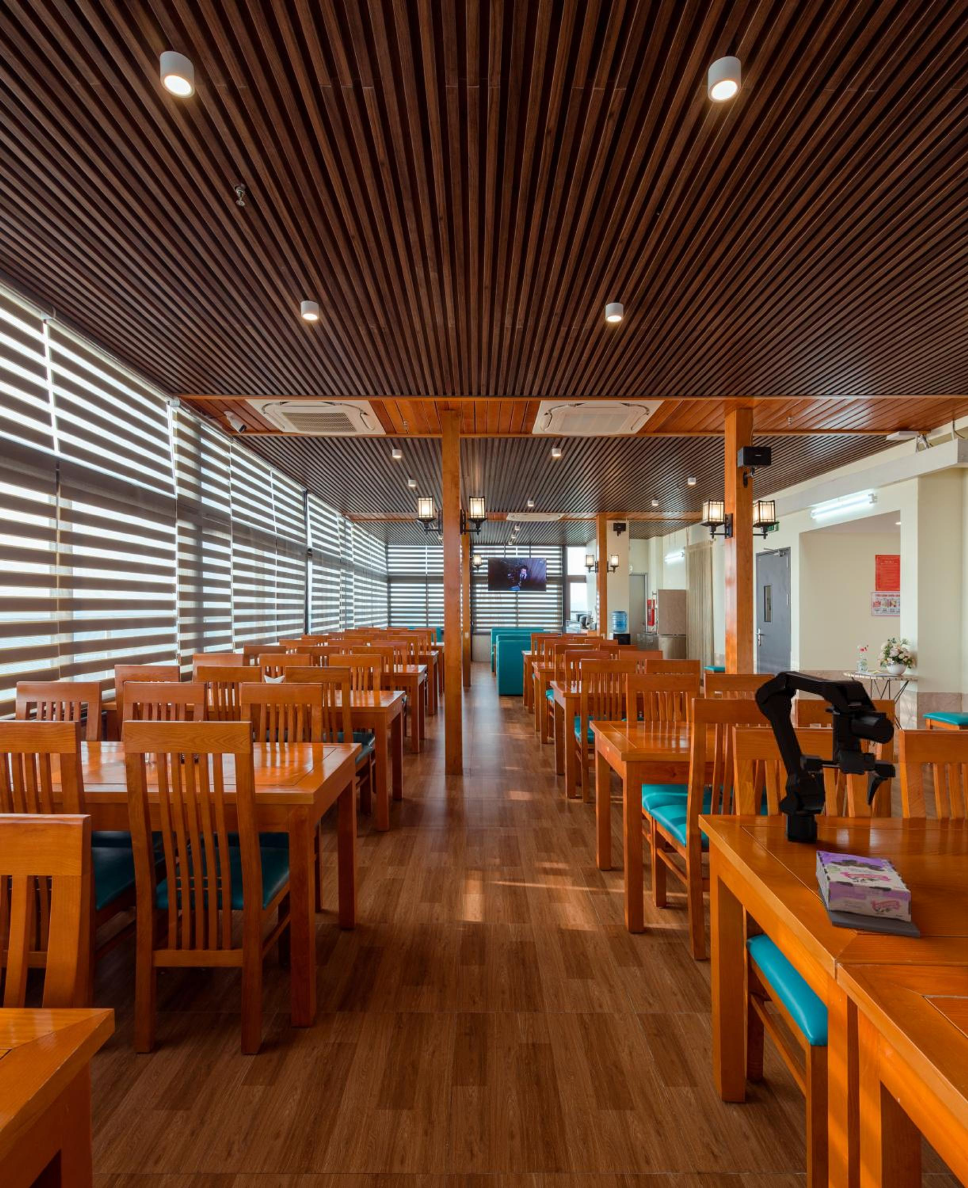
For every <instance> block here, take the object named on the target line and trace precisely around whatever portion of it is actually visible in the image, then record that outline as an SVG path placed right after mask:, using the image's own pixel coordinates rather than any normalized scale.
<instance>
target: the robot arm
mask: <svg viewBox="0 0 968 1188" xmlns="http://www.w3.org/2000/svg"><path fill="white" fill-rule="evenodd" d="M797 691H801V692H806V693H810V694H813V695H817V696H819V697H822V699H823V700H824V701H825V702H827V703H830V706H829V707H827V708H825V713H828V714H832V751H831V753H832V755H831V756H832V758H831V759H823V758H821V756H820V755H819V754H807V753H805V754H804V753H803V752H802V749H801V747H800V746H801V745H800V743H799V740H798V738H797V735H796V730H795V728H794V726H793V723H792V720H791V713H792V709H793V703H792V699H793V698H794V697H795V696H796V695H797ZM754 700H755V703H756V705H757V707H758V709H759V712H760V713H761V714H762V715H763V716H764V718H766V719H767V720H768V721H769V722H770V726H771V729H772V732H773V735H774V738H775V740H776V745H777V747H778V750H779V753H780V756H781V759H782V762H783V766H784V768H785V772H786V775H787V777H786V782H785V786H784V789H785V793H786V795H785V796H784V797H783V798H782V799H781V800H780V801H779V802H778V807H779V812H780V813H782V814H784V815H785V830H784V834H785V837H786V839H787V841H792V842H801V843H810V844H811V843H812V844H817V839H818V821H817V820H816V815H818V816H820V815H822V812H823V808H824V805H825V804H826V802H827V799H826V794H827V791H826V788H825V787H826V786H825V779H824V778H825V774H824V772H823V771H822V770H823V769H836V770H839V771H840V772H841V773H842V774H844V775H857V776H864V775H865V774H866V772H867V773H868V774H867V786H866V788H867V789H866V790H867V791H866V804H867V806H870V807H871V805H872V802H873V799H874V797H875V795H876V792H877V790H878V789H879V787H880V786H881V784H882V783H883V782H888V781H889V779H890V778H893V779H894V778H896V770H897V769H896V767H895V765H893V763H891V762H890V761H889V760H887V759H878V758H877V759H876V755H875V753H874V752H866V751H865V752H863V749H862V742H861V741H862V740H865V741H868V742H873V743H877V744H880V745H881V744H882V745H886V744H888V743H890V742H891V741H892V739H893V738H894V735H895V727H894V726H893V722H892V721H891V720H890V719H889V718H887V717H888V716H887V712H885V711H877V708H876V706H875V704H874V703H873V701H872V699H871V697H870V696H869V694H868V692H867V690H866V688H865V686H864V684H863V683H862V682H861V681H859V680H858V679H857V680H853V679H852V680H850V679H849V680H848V679H847V680H846V679H845V680H844V679H843V680H842V679H841V680H838V679H836V680H835V679H834V680H832V679H828V678H823V677H819V676H815V675H810V674H807V673H801V672H798V671H797V670H783V671H780V672H778V673H777V674H776V675H775V677H773V678H771V679H770V680H768V681H766V682H765V683H763V684H762V685H761V686H760V687H758V689H756V692H755V694H754Z"/></svg>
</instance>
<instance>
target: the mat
mask: <svg viewBox="0 0 968 1188" xmlns="http://www.w3.org/2000/svg"><path fill="white" fill-rule="evenodd" d="M817 889H818V891H817V892H818V894H819V897H820V899H821V901H822V903H823V906H824V909H825V912H826V914H827V913H828V914H827V916H828V918H830V919H829V921H830V923H831V925H832V926H835V927H844V928H850V929H855V928H860V929H859V930H863V929H864V930H863V931H869V932H870V931H871V932H878V933H884V934H885V933H886V934H891V933H893V935H898V934H899V936H906V937H913V938H921V932H920V931H919V929H918V927H917V926H916V925H915V923H914V922H913V920H912V919H911V922H908V921H903V920H897V919H890V918H882V917H876V916H869V915H863V914H857V913H851V912H844V911H837V910H829V909H828V908H827V904H826V901H825V898H824V896H823V893H822V890H821V887H818V888H817Z"/></svg>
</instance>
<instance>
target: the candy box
mask: <svg viewBox="0 0 968 1188" xmlns="http://www.w3.org/2000/svg"><path fill="white" fill-rule="evenodd" d="M815 859H816V866H815V877H816V878H817V881H818V884H819V888H821V890H822V893H823V896H824V898H825V901H826V904H827V908H828V909H829V910H837V911H844V912H851V913H857V914H863V915H869V916H876V917H882V918H890V919H897V920H903V921H908V922H911V920H912V918H911V914H912V913H911V912H912V911H911V906H912V905H911V902H912V901H911V897H912V896H911V894H912V893H911V892H912V891H911V890H910V888H909V887H908V885H907V884H906V883H905V881H904V880H903V878H902V877H901V875H900V874H899V871H898V870H897V869H896V868H895V866H894V865H893V863H892V862H891V860H889V859H886V858H885V859H884V858H879V857H878V858H877V857H870V856H869V857H868V856H861V855H854V854H846V853H838V852H830V851H821V850H816V858H815Z"/></svg>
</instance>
